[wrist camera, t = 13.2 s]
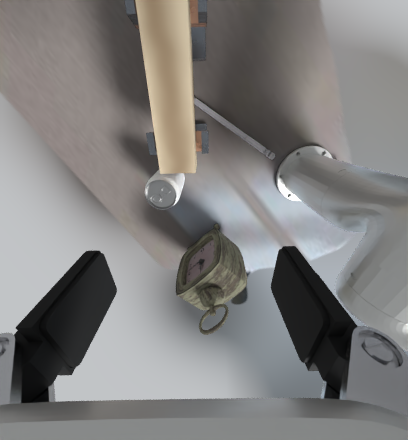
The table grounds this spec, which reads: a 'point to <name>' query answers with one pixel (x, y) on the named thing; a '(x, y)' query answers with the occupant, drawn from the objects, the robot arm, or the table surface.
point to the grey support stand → (198, 53)
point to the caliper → (234, 129)
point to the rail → (170, 81)
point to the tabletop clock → (211, 275)
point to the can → (164, 189)
